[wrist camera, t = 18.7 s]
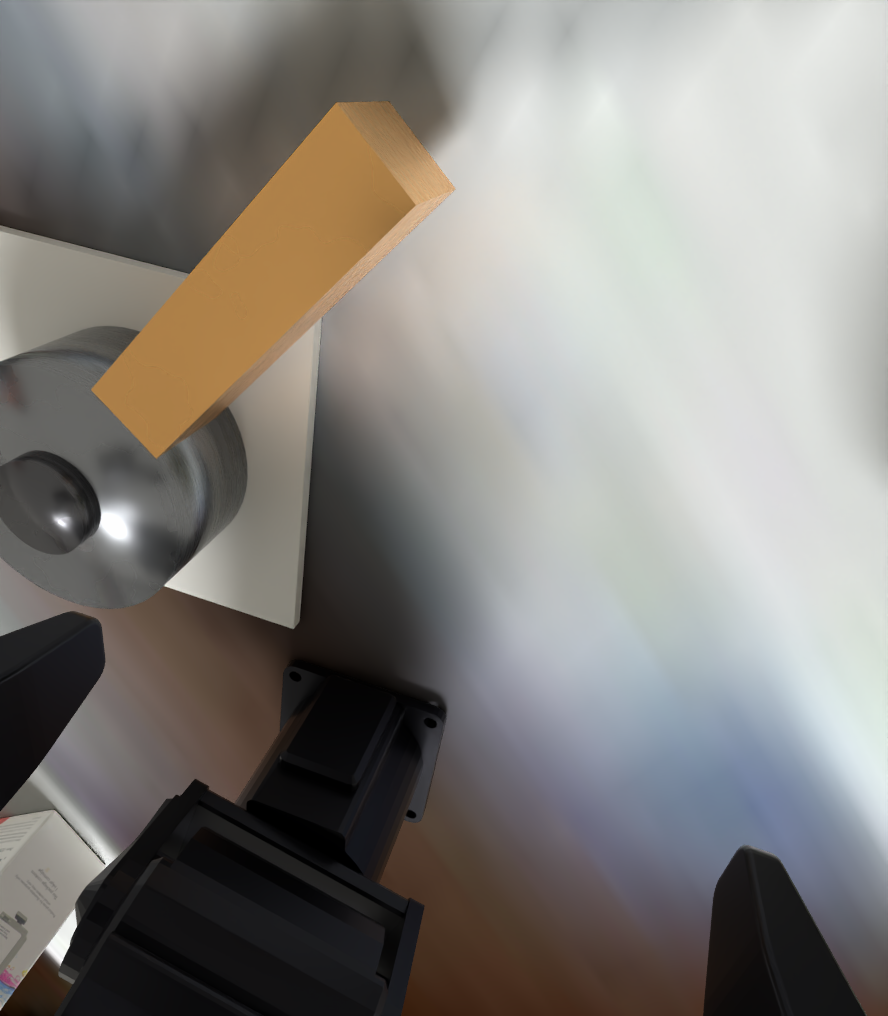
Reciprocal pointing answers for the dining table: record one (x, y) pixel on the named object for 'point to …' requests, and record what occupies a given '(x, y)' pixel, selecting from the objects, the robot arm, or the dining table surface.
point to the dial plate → (258, 410)
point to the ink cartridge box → (37, 888)
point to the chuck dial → (193, 370)
